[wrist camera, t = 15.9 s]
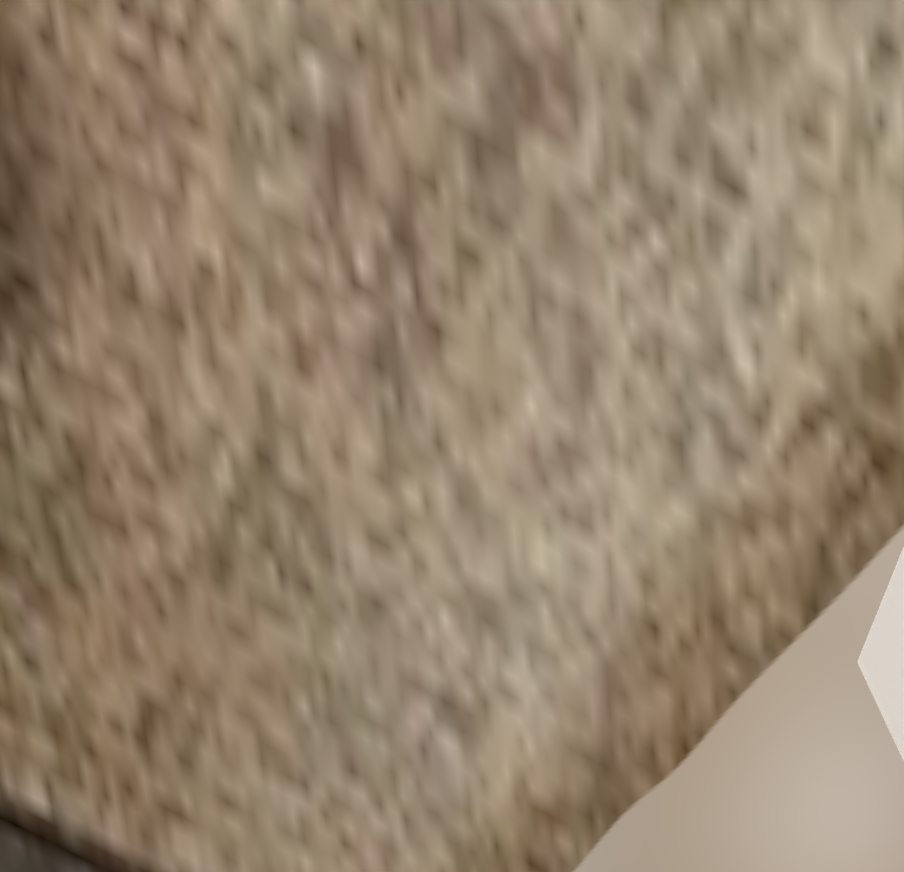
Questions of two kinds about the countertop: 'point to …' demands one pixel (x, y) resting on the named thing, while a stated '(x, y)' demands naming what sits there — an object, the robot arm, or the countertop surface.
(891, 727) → the robot arm
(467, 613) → the countertop surface
